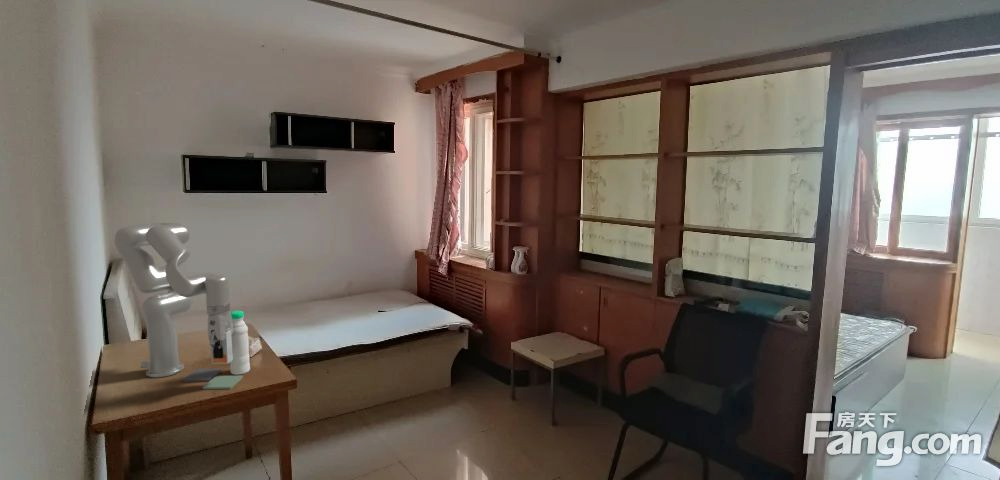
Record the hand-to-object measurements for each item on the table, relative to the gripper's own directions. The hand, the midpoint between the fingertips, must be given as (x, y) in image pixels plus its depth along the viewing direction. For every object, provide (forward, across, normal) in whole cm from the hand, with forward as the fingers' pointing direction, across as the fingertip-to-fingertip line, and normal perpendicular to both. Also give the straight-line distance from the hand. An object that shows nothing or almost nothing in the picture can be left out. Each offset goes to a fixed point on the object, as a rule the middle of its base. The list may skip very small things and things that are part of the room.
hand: (221, 354), depth 182 cm
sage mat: (+11, 0, 0) cm, 11 cm away
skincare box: (+3, 0, 0) cm, 3 cm away
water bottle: (+12, +11, -1) cm, 16 cm away
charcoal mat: (+11, +7, +11) cm, 17 cm away
